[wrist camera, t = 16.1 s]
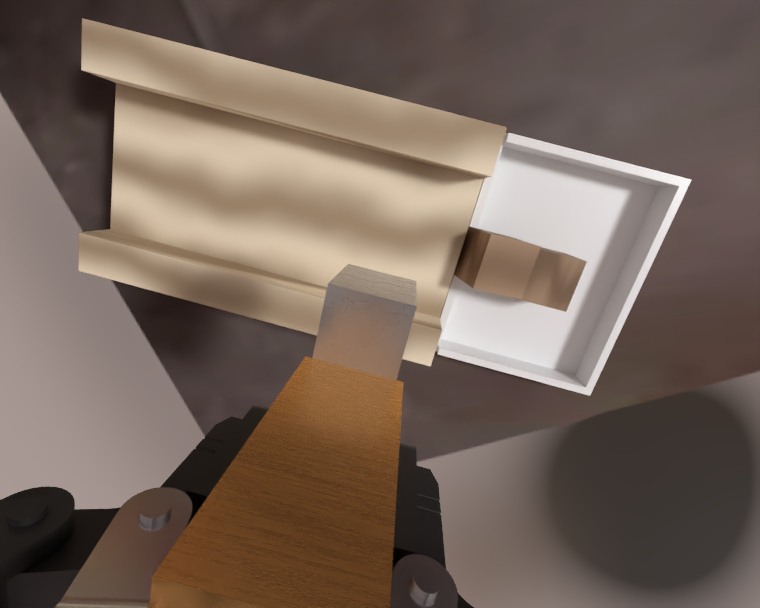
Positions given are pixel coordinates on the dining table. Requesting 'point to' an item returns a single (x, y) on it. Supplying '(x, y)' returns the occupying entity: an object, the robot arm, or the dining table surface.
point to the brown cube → (553, 279)
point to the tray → (567, 235)
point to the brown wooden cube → (496, 262)
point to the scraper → (310, 473)
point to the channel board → (277, 184)
